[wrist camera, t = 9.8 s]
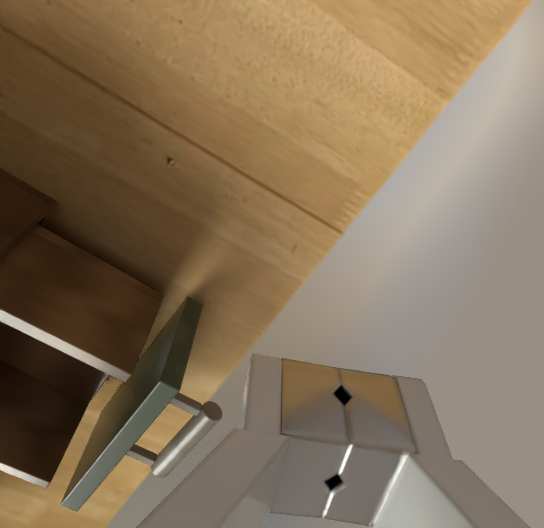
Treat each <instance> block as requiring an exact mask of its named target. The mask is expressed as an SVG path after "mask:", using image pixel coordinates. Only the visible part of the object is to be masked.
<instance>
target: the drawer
mask: <svg viewBox="0 0 544 528" xmlns="http://www.w3.org/2000/svg"><path fill="white" fill-rule="evenodd" d="M163 298H164V295H162V294H160V293H159V292H157V291H155V290H153V289H152V288H150V287H148V286H146V285H144V284H143V283H141V282H139V281H137V280H136V279H134V278H132V277H130V276H128V275H127V274H125V273H123V272H121V271H120V270H118V269H116V268H114V267H112V266H111V265H109V264H107V263H105V262H104V261H102V260H100V259H98V258H96V257H95V256H93V255H91V254H89V253H88V252H86V251H84V250H82V249H80V248H79V247H77V246H75V245H73V244H72V243H70V242H68V241H66V240H64V239H63V238H61V237H59V236H57V235H56V234H54V233H52V232H50V231H48V230H47V229H45V228H43V227H41V226H40V225H38V224H37V225H36V226H35V227H34V228H32V229H31V230H30V231H29V232H28V233H27V234H26V235H25V236H24V237H23V238H22V239H20V240H19V241H18V242H17V243H16V244H15V245H14V246H13V247H12V248H11V249H10V250H8V251H7V252H6V253H5V254H4V255H3V256H2V257H1V258H0V470H1V471H3V472H6V473H8V474H11V475H13V476H16V477H18V478H21V479H23V480H26V481H28V482H31V483H33V484H36V485H38V486H41V487H43V488H47V486H48V485H49V484H50V482H51V480H52V478H53V476H54V474H55V472H56V470H57V468H58V466H59V464H60V462H61V460H62V458H63V456H64V454H65V452H66V450H67V448H68V446H69V443H70V441H71V439H72V437H73V435H74V433H75V431H76V429H77V427H78V425H79V423H80V421H81V419H82V417H83V415H84V413H85V411H86V409H87V406H88V404H89V402H90V401H91V400H92V398H93V397H94V396H95V394H96V393H97V391H98V390H99V389H100V387H101V386H102V384H103V383H104V382H105V380H106V379H107V377H108V376H109V375H110V376H112V377H114V378H116V379H118V380H120V381H122V382H123V383H122V385H121V386H120V387H119V389H118V390H117V391H116V393H115V394H114V395H113V397H112V398H111V399H110V401H109V402H108V403H107V405H106V406H105V407H104V409H103V410H102V412H101V414H100V416H99V419H98V421H97V423H96V425H95V428H94V430H93V432H92V434H91V437H90V439H89V441H88V443H87V446H86V448H85V450H84V452H83V455H82V457H81V459H80V461H79V464H78V466H77V468H76V470H75V473H74V475H73V477H72V479H71V481H70V484H69V486H68V488H67V490H66V493H65V495H64V497H63V499H62V502H61V505H62V506H64V507H67V508H69V509H72V510H74V511H78V510H79V509H80V508H81V507H82V505H83V504H84V503H85V502H86V501H87V499H88V498H89V497H90V496H91V495H92V494H93V492H94V491H95V490H96V489H97V488H98V486H99V485H100V484H101V483H102V482H103V481H104V479H105V478H106V477H107V476H108V475H109V473H110V472H111V471H112V470H113V469H114V468H115V466H116V465H117V464H118V463H119V462H120V460H121V459H122V458H123V457H124V456H125V455H128V456H130V457H132V458H134V459H136V460H139V461H141V462H143V463H145V464H148V465H150V466H151V470H152V472H153V474H154V475H156V476H157V477H165V476H167V475H168V474H169V473H170V472H171V471H172V470H173V468H174V467H175V466H176V465H177V464H178V463H179V462H180V461H181V460H182V459H183V458H184V457H185V456H186V455H187V454H188V453H189V452H190V451H191V449H193V448H194V446H195V445H196V444H197V443H198V442H199V441H200V440H201V439H202V438H203V437H204V436H205V435H206V434H207V433H208V432H209V431H210V430H211V429H212V428H213V426H215V424H216V423H217V422H218V421H219V420H220V419H221V418H222V411H221V408H220V407H219V406H218V405H217V404H216V403H214V402H211V401H208V402H206V403H204V404H203V405H202V404H201V403H199V402H197V401H195V400H193V399H191V398H189V397H187V396H185V395H183V394H181V393H179V391H180V388H181V384H182V381H183V377H184V373H185V370H186V366H187V362H188V359H189V355H190V351H191V348H192V344H193V340H194V337H195V333H196V329H197V326H198V322H199V318H200V315H201V311H202V307H203V304H201V303H199V302H198V301H196V300H194V299H192V298H191V297H189V296H188V297H187V298H186V299H185V301H184V302H183V303H182V305H181V306H180V307H179V309H178V310H177V311H176V313H175V314H174V315H173V317H172V318H171V319H170V321H169V322H168V323H167V325H166V326H165V327H164V329H163V330H162V331H161V333H160V334H159V335H158V337H157V338H156V339H155V341H154V342H153V343H152V345H151V346H150V347H149V349H148V350H147V351H146V353H145V354H144V355H143V357H142V358H141V359H140V361H139V362H138V363H137V361H138V358H139V356H140V354H141V351H142V349H143V346H144V344H145V341H146V339H147V337H148V334H149V332H150V329H151V327H152V324H153V322H154V319H155V317H156V315H157V312H158V310H159V307H160V305H161V302H162V300H163ZM136 363H137V365H136ZM169 403H171V404H173V405H175V406H177V407H179V408H181V409H183V410H185V411H187V412H189V413H191V414H193V417H192V418H191V419H190V420H189V421H188V422H187V423H186V424H185V425H184V427H183V428H182V429H181V430H180V431H179V432H178V433H177V434H176V435H175V436H174V438H173V439H172V440H171V441H170V442H169V443H168V444H167V445H166V446H165V448H164V449H163V450H162V451H161V452H160V453H159V454H158V455H157V454H155V453H153V452H151V451H149V450H146V449H144V448H142V447H140V446H138V445H135V443H136V442H137V440H138V439H139V438H140V437H141V436H142V434H143V433H144V432H145V431H146V430H147V429H148V427H149V426H150V425H151V424H152V423H153V421H154V420H155V419H156V418H157V417H158V416H159V414H160V413H161V412H162V411H163V410H164V409H165V407H166V406H167V405H168V404H169Z"/></svg>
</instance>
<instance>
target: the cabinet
mask: <svg viewBox="0 0 544 528" xmlns="http://www.w3.org/2000/svg"><path fill="white" fill-rule="evenodd" d="M55 204H56V201H55V200H53V199H51V198H50V197H48V196H46V195H45V194H43V193H41V192H39V191H38V190H36V189H34V188H33V187H31V186H29V185H27V184H26V183H24V182H22V181H21V180H19V179H17V178H15V177H14V176H12V175H10V174H9V173H7V172H5V171H3V170H2V169H0V258H1V257H2V256H3V255H4V254H5V253H6V252H7V251H8V250H10V249H11V248H12V247H13V246H14V245H15V244H16V243H17V242H18V241H19V240H20V239H22V238H23V237H24V236H25V235H26V234H27V233H28V232H29V231H30V230H31V229H32V228H34V227H35V226H36V225H37V224H38V225H40V226H41V227H44V225H45V223H46V221H47V220H48V218H49V216H50V214H51V212H52V210H53V208H54V206H55Z"/></svg>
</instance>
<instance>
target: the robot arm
mask: <svg viewBox="0 0 544 528" xmlns="http://www.w3.org/2000/svg"><path fill="white" fill-rule="evenodd" d="M270 513H277V514H287V515H296V516H306V517H315V518H323V519H330V520H336V521H342V522H348V523H354V524H361V525H366V526H373V528H530V527H529V526H528V525H527V524H526V523H525V522H524V521H523V520H522V519H521V518H520V517H519V516H518V515H517V514H516V513H515V512H514V511H513V510H512V509H511V508H510V507H509V506H508V505H507V504H505V502H504V501H503V500H501V498H499V497H498V496H497V495H496V494H495V493H494V492H493V491H492V490H491V489H490V488H489V487H488V486H487V485H486V484H485V483H484V482H483V481H482V480H481V479H480V478H479V477H478V476H477V475H476V474H475V473H474V472H473V471H472V470H471V469H470V468H469V467H468V466H467V465H466V464H465V463H464V462H463V461H460V460H454V459H453V458H452V456H451V453H450V450H449V447H448V445H447V442H446V439H445V436H444V434H443V431H442V429H441V425H440V423H439V420H438V417H437V414H436V411H435V409H434V406H433V403H432V400H431V398H430V395H429V392H428V389H427V387H426V384H425V383H424V382H423V381H422V380H421V379H417V378H409V377H402V376H394V375H393V376H390V375H384V374H376V373H370V372H363V371H356V370H349V369H342V368H335V367H330V366H324V365H319V364H312V363H307V362H302V361H296V360H290V359H284V358H282V359H280V358H276V357H270V356H264V355H258V354H252V356H251V359H250V365H249V369H248V374H247V379H246V384H245V390H244V395H243V400H242V405H241V411H240V417H239V423H238V429H236V428H235V429H234V430H233V431H231V432H230V434H229V435H228V436H226V438H224V440H222V441H221V442H220V443H219V444H218V445H217V446H216V448H215V449H214V450H212V451H211V452H210V454H209V455H208V456H207V457H206V458H205V459H204V460H203V461H202V462H201V463H200V464H199V465H198V466H197V467H196V468H195V469H194V470H193V471H192V472H191V473H190V474H189V475H188V476H187V477H186V478H185V479H184V480H183V481H182V482H181V483H180V484H179V485H178V486H177V487H176V488H175V489H174V490H173V491H172V492H171V493H170V494H169V495H168V496H167V497H166V498H165V499H164V500H163V501H162V502H161V503H160V504H159V505H158V506H157V507H156V508H155V509H154V510H153V511H152V512H151V513H150V514H149V515H148V516H147V517H146V518H145V519H144V520H143V521H142V522H141V523H140V524H139V525H138V526H137V527H136V528H262V526H263V525H264V523H265V522H266V520H267V519H268V517H269V515H270Z"/></svg>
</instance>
